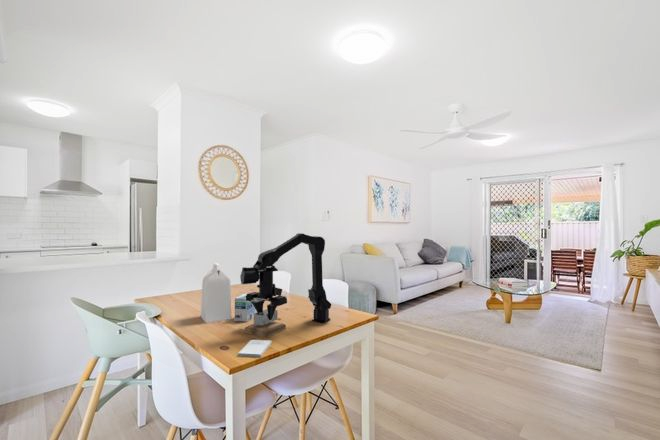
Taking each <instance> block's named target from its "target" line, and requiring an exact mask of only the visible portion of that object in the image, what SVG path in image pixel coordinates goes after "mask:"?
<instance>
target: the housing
mask: <svg viewBox="0 0 660 440" xmlns="http://www.w3.org/2000/svg"><path fill="white" fill-rule="evenodd" d="M277 320H278V309H277V310H276V309H275V312H274V315H273V318H272V320H269V316H268V309H267V308H266V309H263V311H261V312H258V313H255V314H254V318H253V324H258V325H262V326H263V325H265V324H268V323H270V322H273V321H274V322H276V321H277Z"/></svg>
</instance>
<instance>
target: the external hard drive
mask: <svg viewBox="0 0 660 440" xmlns="http://www.w3.org/2000/svg"><path fill="white" fill-rule="evenodd" d="M271 344H272V340H270V339H269V340H268V339H266V340H265V339H263V340H262V339H251V340H249V342H247V343H246V345H244V347H242V348H241V349H240V351H239V352H238V353H237V357H244V356H245V357H248V358H261V357H262V356H263V355H264V354H265V352H266V351H267V350H268V349H269V347H270V346H271ZM245 357H244V358H245Z"/></svg>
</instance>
